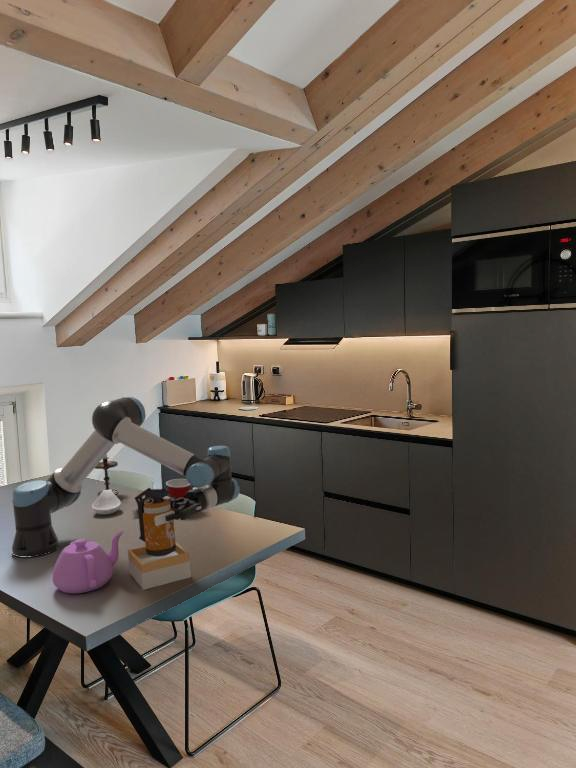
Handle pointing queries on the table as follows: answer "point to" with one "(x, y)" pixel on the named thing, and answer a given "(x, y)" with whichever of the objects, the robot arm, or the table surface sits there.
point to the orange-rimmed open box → (158, 567)
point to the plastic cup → (178, 488)
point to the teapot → (85, 566)
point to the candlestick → (105, 466)
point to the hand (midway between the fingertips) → (144, 518)
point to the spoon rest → (106, 503)
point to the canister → (155, 537)
